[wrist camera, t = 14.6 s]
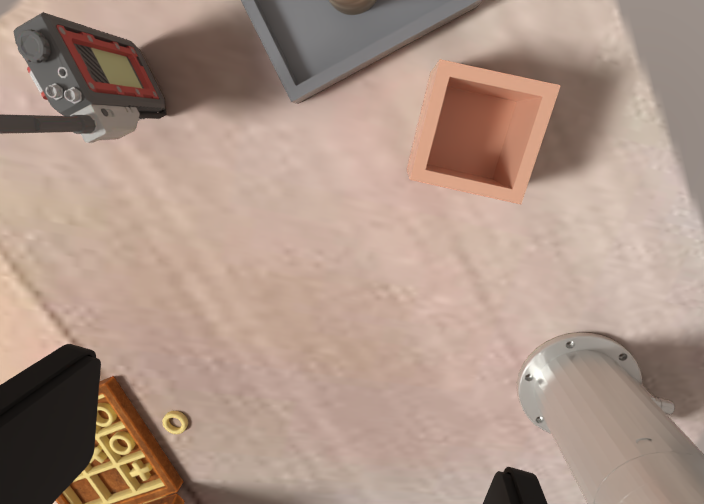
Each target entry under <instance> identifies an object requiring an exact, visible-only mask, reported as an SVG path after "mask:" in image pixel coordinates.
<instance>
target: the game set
mask: <svg viewBox="0 0 704 504" xmlns="http://www.w3.org/2000/svg"><path fill="white" fill-rule="evenodd" d="M169 418H177V419H179V420H180V421H181V424H182V427H174V426H172V425H171V424H170V422H169ZM163 426H164V428H165V429H166V430H167V431H168V432H170V433H173V434H180V433H182V432H184V431H185V429H186V428H187V426H188V420H187V417H186V416H185V415H184V414H183V413H181V412H178V411H171V412H168V413H167V414H166V415H165V417H164V419H163ZM182 483H183V480H182V479H181V477H180V476H179V474H178V473H177V471H176V470H175V468H174V467H173V465H172V464H171V462H170V461H169V459H168V458H167V456H166V455H165V453H164V452H163V450H162V449H161V447H160V446H159V444H158V443H157V441H156V440H155V438H154V437H153V435H152V434H151V432H150V431H149V429H148V428H147V426H146V425H145V423H144V422H143V420H142V419H141V417H140V416H139V414H138V413H137V411H136V409H135V408H134V406H133V405H132V403H131V402H130V400H129V399H128V397H127V396H126V394H125V393H124V391H123V390H122V388H121V387H120V385H119V384H118V382H117V381H116V379H115V378H114V376H112V377H110V378H107V379H105V380H102V381H100V382H99V395H98V408H97V421H96V435H95V448H94V454H93V457H92V459H91V461H90V463H89V464H88V466H87V467H86V468H85V470H84V471H83V472H82V473H81V474H80V475H79V476H78V477H77V478H76V479H75V480H74V481H73V482H72V483H71V484H70V485H69V487H68V488H67V489H66V490H65V491H64V492H63V493H62V494H61V495H60V496H59V497H58V498H57V499H56V500H55V501H56V502H57V503H58V504H141V503H142V504H184V502H185V501H184V500H183V499H182V498H181V497H180V496H179V495H178V494H177V493H176V494H173V495H170V496H167V495H169V494H172V493H175V492H178V490H179V488H180V487H181V485H182Z"/></svg>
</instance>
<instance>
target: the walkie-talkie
mask: <svg viewBox="0 0 704 504" xmlns="http://www.w3.org/2000/svg"><path fill="white" fill-rule="evenodd" d="M14 36H15V41H16V44H17V46H18V50H19V52H20V54H21V55H22V56H23V58H25V60H26V62H27V64H28V65H29V67H28V68H27V70H28V72H29V74H30V76H31V77H32V79H33V81H34V83H35V84H36V86H37V88H38V90H39V91H40V93H41V95H42V97H43V98H44V99H46V100H48V101H49V103H50V104H51V106H52V107H53V108H54V109H55V110H57V111H58V112H59V113H60V114H62V115H64V116H36V115H0V133H45V132H74V133H76V134H81V136H82V138H83V139H84V141H85V142H86V143H92V142H96V141H98V140H110V139H119V138H121V137H123V136H125V135H127V134H129V133H131V132H133V131H134V130H135V129H136V126H137V123H138V121H139V120H140V119H142V118H143V119H145V118H156V119H160V118H161V117H164V116H165V115H166V110H165V100H164V97H163V95H162V93H161V91H160V89H159V87H158V85H157V83H156V81H155V79H154V77H153V75H152V73H151V71H150V69H149V67H148V65H147V63H146V61H145V59H144V57H143V55H142V53H141V51H140V50H139V49H138V48H137V47H136V46H135V45H134V43H132V42H131V41H130V40H127V39H124V38H120V37H117V36H113V35H110V34H108V33H105V32H101V31H99V30H96V29H92V28H90V27H89V28H88V27H86V26H84V25H81V24H77V23H74V22H71V21H68V20H65V19H62V18H59V17H56V16H53V15H50V14H47V13H41V14H39V15H38V16H36V17H34V18H33V19H31V20H29V21H27V22H26V23H24V24H22V25H21V26H19V27H17V28H16V29H15V30H14ZM157 112H159V113H157Z"/></svg>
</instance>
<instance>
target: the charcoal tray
mask: <svg viewBox="0 0 704 504" xmlns="http://www.w3.org/2000/svg"><path fill="white" fill-rule="evenodd" d="M241 1H242V3H243V5H244V7H245V10H246V12H247V14H248V16H249V18H250V20H251V22H252V24H253V26H254V28H255V30H256V32H257V34H258V36H259V38H260V40H261V42H262V44H263V46H264V48H265V50H266V52H267V54H268V56H269V58H270V60H271V62H272V64H273V66H274V68H275V70H276V72H277V74H278V76H279V78H280V80H281V82H282V84H283V86H284V88H285V90H286V92H287V94H288V96H289V98H290V100H291V102H293V103H300V102H302V101H304V100H305V99H307V98H309V97H311V96H313V95H315V94H317V93H318V92H320V91H322V90H324V89H326V88H328V87H329V86H331V85H333V84H335V83H337V82H339V81H341V80H342V79H344V78H346V77H348V76H350V75H352V74H354V73H355V72H357V71H359V70H361V69H363V68H365V67H367V66H368V65H370V64H372V63H374V62H376V61H378V60H379V59H381V58H383V57H385V56H387V55H389V54H391V53H392V52H394V51H396V50H398V49H400V48H402V47H404V46H405V45H407V44H409V43H411V42H413V41H415V40H416V39H418V38H420V37H422V36H424V35H426V34H428V33H429V32H431V31H433V30H435V29H437V28H439V27H441V26H442V25H444V24H446V23H448V22H450V21H452V20H453V19H455V18H457V17H459V16H461V15H463V14H465V13H466V12H468V11H470V10H472V9H474V8H476V7H477V6H478V5H479V4H480V2H481V1H482V0H377V1H376V2H375V4H374V5H373V6H372V7H371V8H370V9H369V10H367V11H366V12H363V13H361V14H357V15H347V14H344V13H341V12H339V11H338V10H336V9H335V8H334V7H333V6H332V5H331V3H330V2H329V0H241Z"/></svg>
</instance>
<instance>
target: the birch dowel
mask: <svg viewBox="0 0 704 504" xmlns="http://www.w3.org/2000/svg"><path fill="white" fill-rule="evenodd" d="M376 1H377V0H329V2H330V3H331V5H332V6H333V7H334V8H335V9H336V10H338V11H339V12H341V13H344V14H347V15H357V14H361V13H363V12H366V11H367V10H369V9H370V8H371V7H372V6H373V5H374V4H375V2H376Z"/></svg>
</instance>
